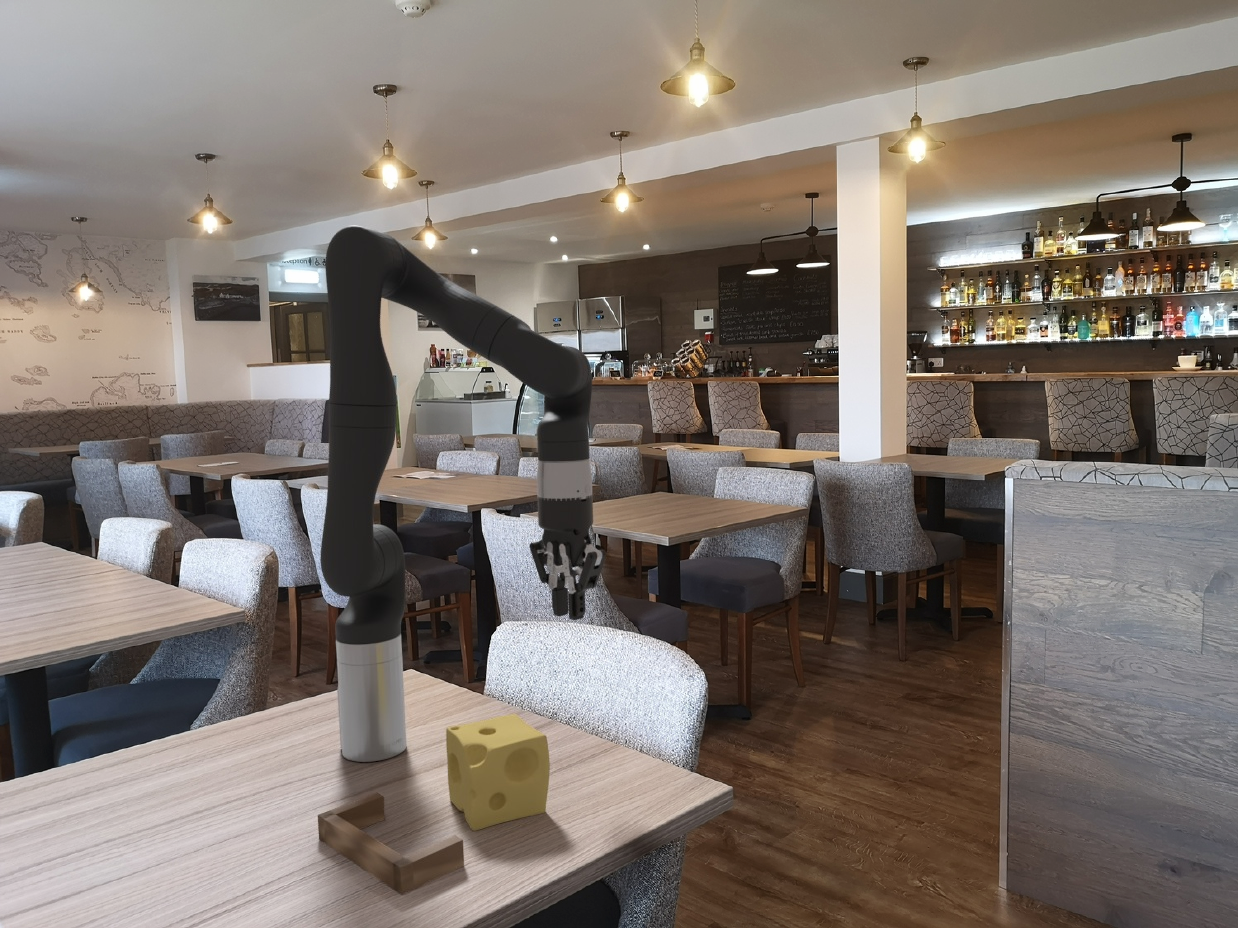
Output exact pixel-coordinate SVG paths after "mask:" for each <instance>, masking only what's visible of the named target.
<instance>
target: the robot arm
mask: <svg viewBox="0 0 1238 928" xmlns="http://www.w3.org/2000/svg"><path fill="white" fill-rule="evenodd" d="M325 254H326V255H325V265H324V266H325V282H326V290H327V301H328V302H327V303H328V313H329V314H328V315H329V325H330V327H329V328H330V330H329V331H330V334H329V335H330V339H329V340H330V345H329V347H330V349H329V395H328V396H329V397H328V402H329V403H328V464H327V465H328V468H327V469H328V471H327V491H326V492H327V494H326V505H325V514H324V521H323V529H322V535H321V536H322V537H321V542H320V544H321V545H320V557H319V558H320V570H321V572H322V577H323V578H324V579H323V580H324V581H325V583H326V584H327V587H329V589H331V591H333V592H334V593H335V594H337V595H339V596H341V597H346V598H347V597H348V601H347V604H346V606H345V608H344V609H343V610H342V612H341V613H340V614H339V616H338V617H337V619H336V621H335V625H334V627H335V628H334V629H335V647H336V649H335V650H336V663H337V665H336V666H337V679H338V680H337V682H338V683H337V684H338V686H337V688H336V689H337V706H338V707H337V709H338V726H339V741H340V742H339V743H340V744H339V745H340V749H341V754H342V757H344V759H346V760H349V761H353V762H362V763H366V762H368V763H370V762H376V761H378V762H379V761H382V760H383V761H384V760H387V759H390V758H393V757H396V756H398V755H400V754H401V753H403V752H404V751H405V750H406V749H407V744H408V743H407V730H406V729H407V728H406V727H407V726H406V705H405V687H404V683H405V682H404V669H403V668H404V665H403V650H402V633H401V632H402V629H401V628H402V627H401V626H402V621H403V620H402V619H403V617H404V614H405V610H406V561H405V559H406V557H405V553H404V548H403V544H402V543H401V540H400V538H399V536H398V535H397V534H396V533H395V531H393V529H392V528H389V526H388V527H387V526H386V525H383V524H377V523H376V524H374V512H375V510H374V508H375V501H376V496H377V491H378V488H379V486H380V482H381V480H382V477H383V475H384V472H385V469H386V468H387V465H388V462H389V460H390V457H391V454H392V452H393V449H394V445H395V440H396V435H397V412H398V411H397V408H398V407H397V404H398V402H397V397H398V396H397V388H396V384H395V379H394V376H393V372H392V369H391V366H390V365H391V364H390V363H389V360H388V356H387V353H386V350H385V346H384V343H383V337H382V330H381V313H382V299H384V300H388V301H391V302H393V303H396V304H399V305H401V306H403V307H406V308H408V309H410V310H413V311H415V312H417V313H418V314H421V315H422V316H424V317H425V318H427V319H428V320H430V321H431V322H432V323H433V324H435V325H437V327H438V328H440V329H441V330H442V331H444V332H445V333H446V334H447V335H448V336H450V337H451V338H452V339H453V340H455V341H456V342H457V343H459V344H461V345H462V346H463V347H465V348H467V349H469V350H470V351H472V352H474V353H475V354H477V355H479V356H480V357H483V358H484V359H485V360H487V361H488V362H491V363H493V364H495V365H497V366H498V367H501V368H503V369H504V370H505V371H506V372H508V373H509V374H511V375H512V376H513V377H514V378H516V379H517V380H518V381H519V382H521V383H522V384H523V385H525V386H527V387H528V388H530V389H532V390H533V391H534V392H536V393H538V394H540V395H542V396H544V399H543V400H544V401H543V404H544V405H543V416H542V418H541V419H540V421H539V422H538V425H537V430H536V431H537V435H536V436H537V442H536V443H537V460H538V461H537V471H536V491H537V493H536V495H537V498H536V499H537V518H538V519H537V520H538V521H537V522H538V526H539V528H540V529H541V530H542V529H543V534H542V535H541V539H540V540H539V541H535V542H531V543H530V544H529V550H530V554H531V557H532V559H533V563H534V565H535V569H536V571H537V573H538V578H539V580H540V582H541V583H542V584H547V585H548V588H549V589H550V590H551V607H552V611H553V615H554V617H563V616H566V615H568V619H569V620H571V621H577V620H581V619H583V618H584V617H585V613H586V592H587V590H590V589H595V588H596V587H597V584H598V582H599V579H600V576H601V573H602V569H603V566H604V564H605V561H606V558H607V552H606V550H605V549H597V548H596V547H595V546H594V545H592V539H591V536H590V529H591V527H592V526H593V524H594V504H593V503H594V502H593V500H594V499H593V498H594V497H593V496H594V495H593V477H592V476H593V475H592V469H591V461H590V460H591V459H590V436H589V419H590V412H591V411H590V410H591V405H592V404H591V402H592V392H593V391H592V390H593V376H592V375H593V373H592V367H591V363H590V362H589V361H590V360H589V359H588V357H587V356H586V354H584V353H583V351H581V350H580V349H579V348H576V347H573V346H569V345H568V346H567V345H561V344H559V343H557V342H555V341H553V340H551V339H548V337H545V336H544V335H542V334H540V333H538V332H536V331H535V330H533V329H531V326H529V325H528V324H527V323H526V322H525V321H523V320H522V319H521V318H519V317H517V316H515V315H513V314H512V313H510V312H508V311H507V310H505V309H503V308H501V307H500V306H498V305H496V304H494V303H492V302H490V301H488V300H487V299H485V298H483V297H482V296H479V295H477V294H475V293H474V292H471V291H469V290H467V289H465V288H463V287H461V286H460V285H458V284H456V283H454V282H452V281H451V280H450V279H448V278H446V277H444V276H443V275H441V273H439V272H437V271H436V270H434V269H433V268H431V267H430V266H429V265H427V264H426V263H425V262H423V261H422V259H420V258H419V257H418V256H416V255H415V254H414V253H413V252H411V251H410V250H409V249H408V248H407V247H405V245H403V244H402V243H401V242H400V241H398V240H397V239H396V238H395V237H393V236H392V235H390V234H388V233H387V232H386V233H385V232H383V231H379V230H376V229H372V228H369V227H366V226H361V225H347V226H345V227H343V228H341V229H340V230H338V231H336V233H335V234H334V235H333V236H332V238H331V240H330V241H329V243H328V245H327V249H326V253H325ZM573 568H574V569H573ZM576 578H577V579H576Z"/></svg>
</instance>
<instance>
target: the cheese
mask: <svg viewBox="0 0 1238 928" xmlns="http://www.w3.org/2000/svg"><path fill="white" fill-rule="evenodd" d="M445 731H446V732H445V733H446V734H445V736H446V739H445V740H446V742H445V744H446V758H447V759H446V761H447V762H446V763H447V783H448V795H449V800H450V801H451V802H452V804H453V805H454V806H455V808H457V809H458V811H459V812H462V813H464V817H465V818H464V819H465V821H466V822H467V824H468V825H469V828H470V829H471V830H472V832H475V831H480V830H483V829H486V828H489V827H492V826H495V825H498V824H502V823H507V822H510V821H515V820H518V819H523V818H527V817H532V816H536V815H537V816H538V815H540V814H544V813H546V812H547V800H548V792H549V784H550V764H551V763H550V751H549V743H548V738H547V735H546V734H544V733H543V732H541V731H539V730H538V729H536V728H534V727H533V726H531V725H530V724H529V723H527V722H526V721H524V720H523V719H522V718H521V717H520V716H519V715H518V714H517V713H511V714H505V715H501V716H497V717H494V718H490V719H489V718H488V719H484V720H480V721H475V722H469V723H465V724H460V725H459V724H458V725H453V726H447V727H446V730H445Z"/></svg>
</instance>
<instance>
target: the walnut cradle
mask: <svg viewBox="0 0 1238 928" xmlns="http://www.w3.org/2000/svg"><path fill="white" fill-rule="evenodd" d="M384 796H385V795H383V794H381V793H379V792H375V793H372V794H370V795H369V794H368V795H367V796H364V797H362V798H359V799H356V800H354V801H351V802H348V803H345V804H343V805H340V806H338V807H335V808H332V809H330V810H327V811H325V812H322V813H320V814H317V828H318V840H320V841H321V842H323V844H326V845H327V846H329V848H331V849H333V850H334V851H336V852H338V854H340V855H342V856H343V857H345V859H348V860H349V861H351V862H352V863H353V864H355V865H357V866H358V867H360V868H361V869H362V870H364V871H366V872H367V873H369V874H370V875H372V876H373V877H374V878H376V879H378V880H379V881H380V882H382V883H383V884H385V885H387V886H388V887H389V888H391V889H392V890H394V891H395V892H397V893H398V894H400V895H401V896H403V895H405V894H406V893H409V892H411V891H413V890H416V889H418V888H419V887H423V886H424V885H426V884H429V883H430V882H432V881H435V880H436V879H438V878H440V877H443V876H445V875H447V874H448V873H449V874H450V873H452V872H454V871H456V870H457V869H460V868H461V867H464V866H465V854H464V839H463V838H461V837H459V836H457V835H452V836H450V837H448V838H445V839H443V840H442V841H439V842H437V843H434V844H432V845H429V846H428V847H425V848H423V849H421V850H418V851H416V852H414V853H412V854H410V855H407V856H403V855H402V854H401V853H398V852H397V851H395V850H393V848H390V847H389V846H387V845H386V844H384V843H382V842H381V841H379V840H378V839H376V838H374V837H373V836H371V835H370V834H368V833H366V832H364V831H363V829H365V828H368V827H369V826H372V825H374V824H377V823H379V822H382V821H384V820H385V819H386V818H385V817H386V815H385V813H386V812H385V811H386V810H385V797H384Z"/></svg>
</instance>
